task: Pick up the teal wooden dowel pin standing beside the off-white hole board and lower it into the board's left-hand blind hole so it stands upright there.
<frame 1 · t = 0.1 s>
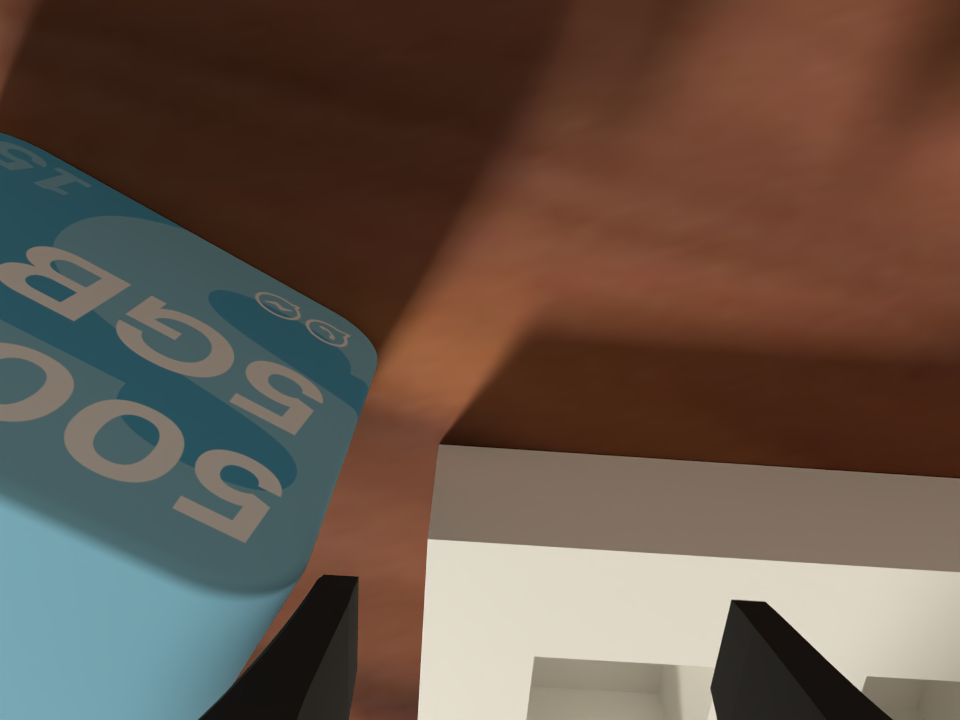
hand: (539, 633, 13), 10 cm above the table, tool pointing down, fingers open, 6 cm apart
data package: (171, 297, 22), on the table, touching gripper
hole board: (720, 618, 26), on the table
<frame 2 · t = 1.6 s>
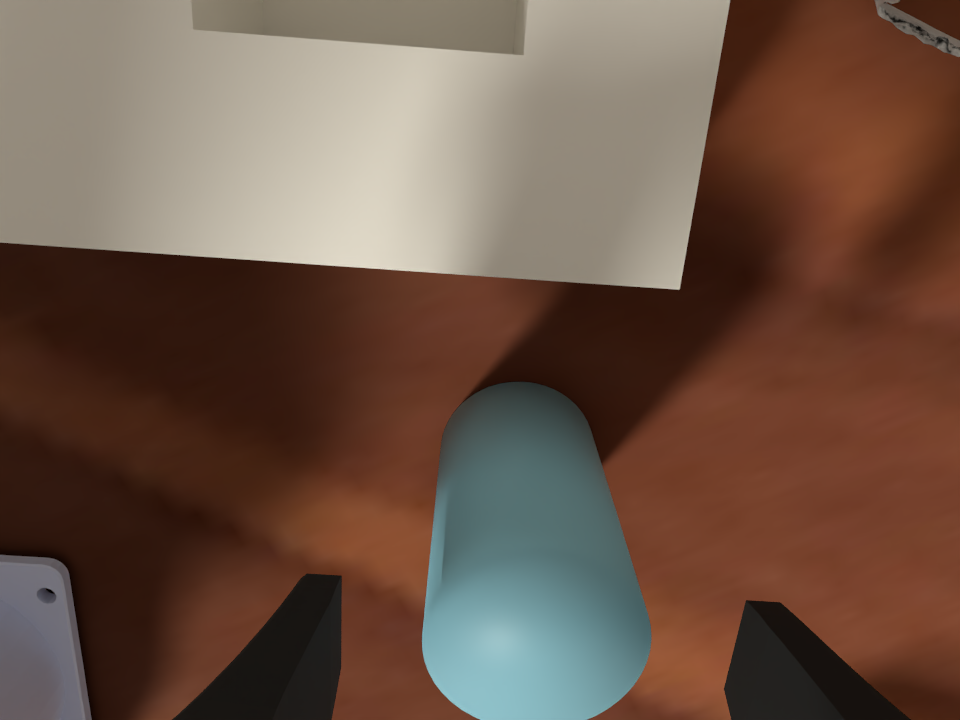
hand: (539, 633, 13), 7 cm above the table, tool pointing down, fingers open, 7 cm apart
pin: (517, 451, 20), on the table
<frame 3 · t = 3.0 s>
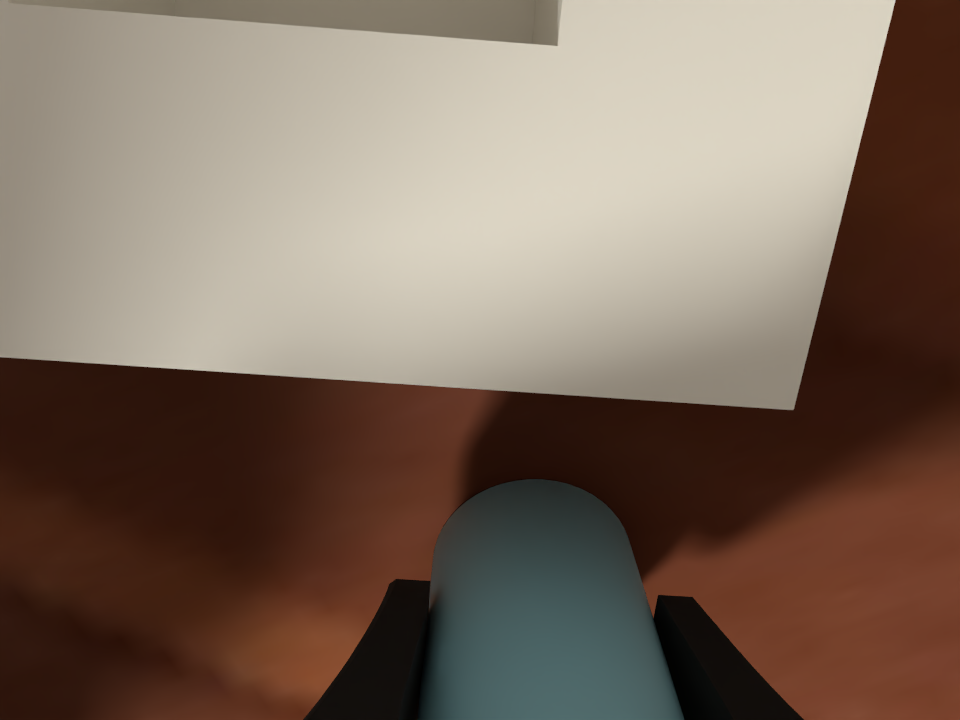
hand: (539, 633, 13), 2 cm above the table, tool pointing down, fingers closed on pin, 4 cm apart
pin: (532, 565, 15), on the table, touching gripper
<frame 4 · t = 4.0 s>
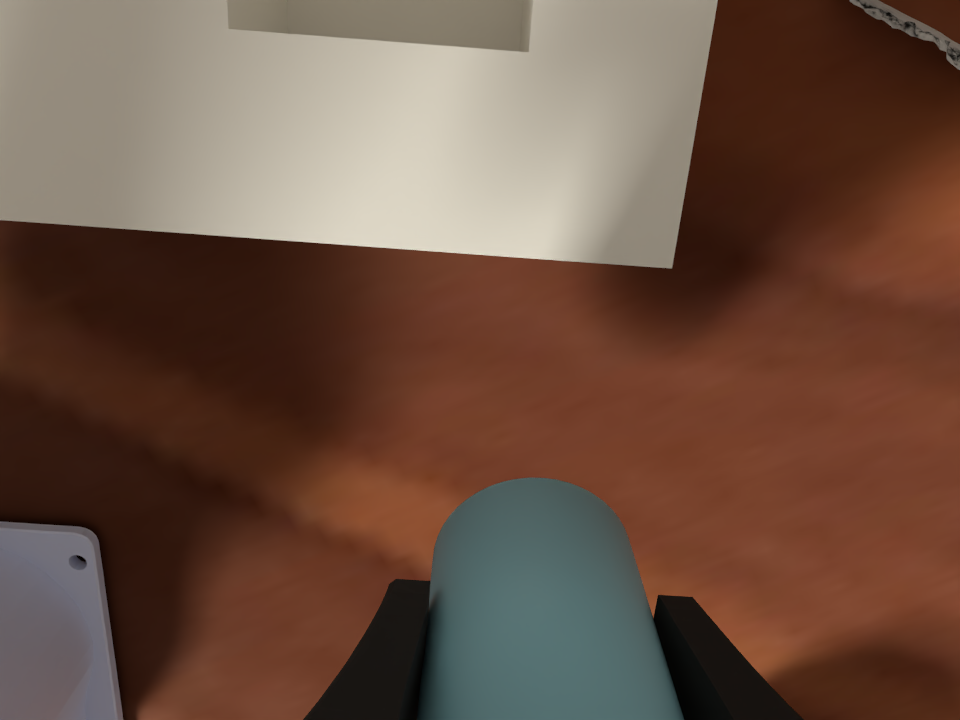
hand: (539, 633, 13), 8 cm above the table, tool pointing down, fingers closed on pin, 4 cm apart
pin: (532, 564, 15), point 6 cm above the table, touching gripper
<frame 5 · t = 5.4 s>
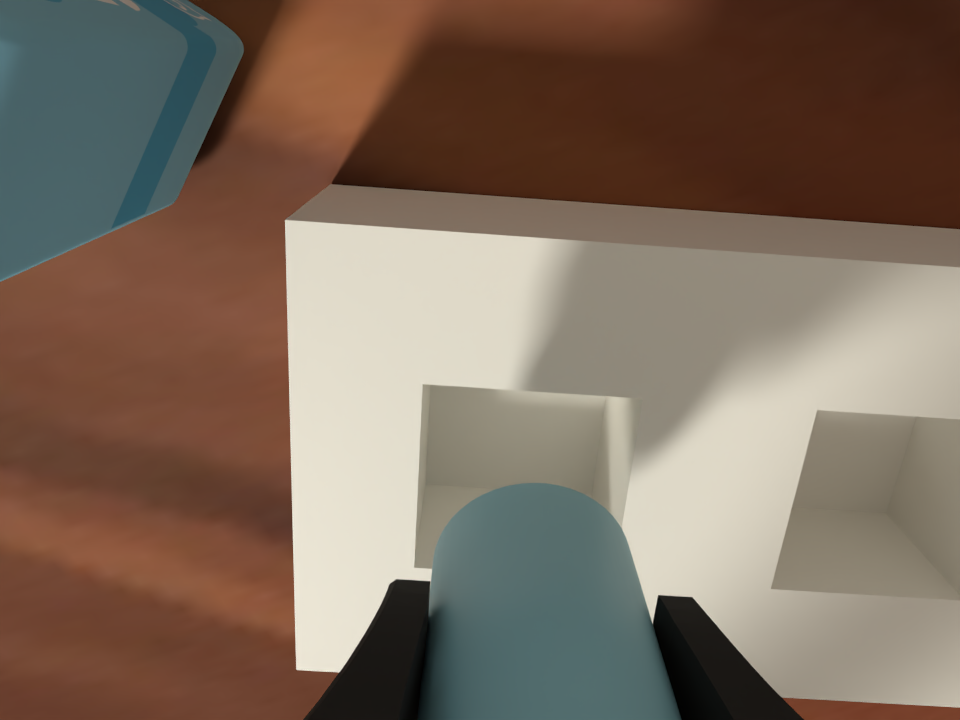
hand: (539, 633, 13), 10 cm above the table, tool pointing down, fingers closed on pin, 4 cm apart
pin: (531, 568, 15), point 8 cm above the table, touching gripper
hole board: (663, 409, 23), on the table
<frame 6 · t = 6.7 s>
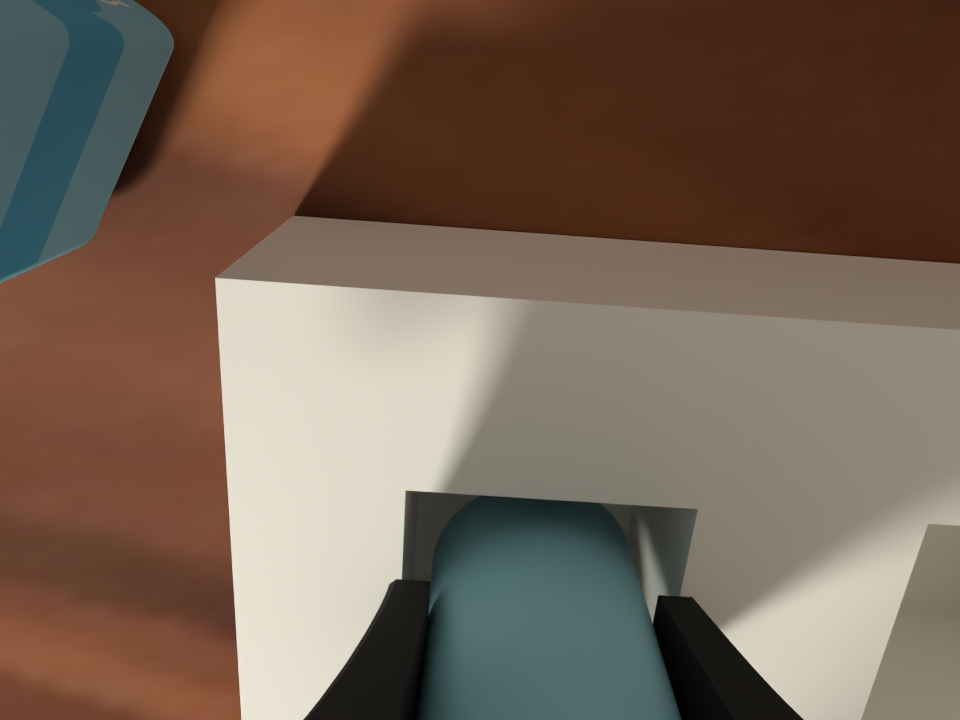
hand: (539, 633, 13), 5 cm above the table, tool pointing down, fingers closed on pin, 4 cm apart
pin: (531, 568, 15), point 3 cm above the table, touching gripper
hole board: (706, 488, 18), on the table
when the fingers open (5 cm above the table, at t = 7.6 s): pin drops 2 cm, resting on hole board.
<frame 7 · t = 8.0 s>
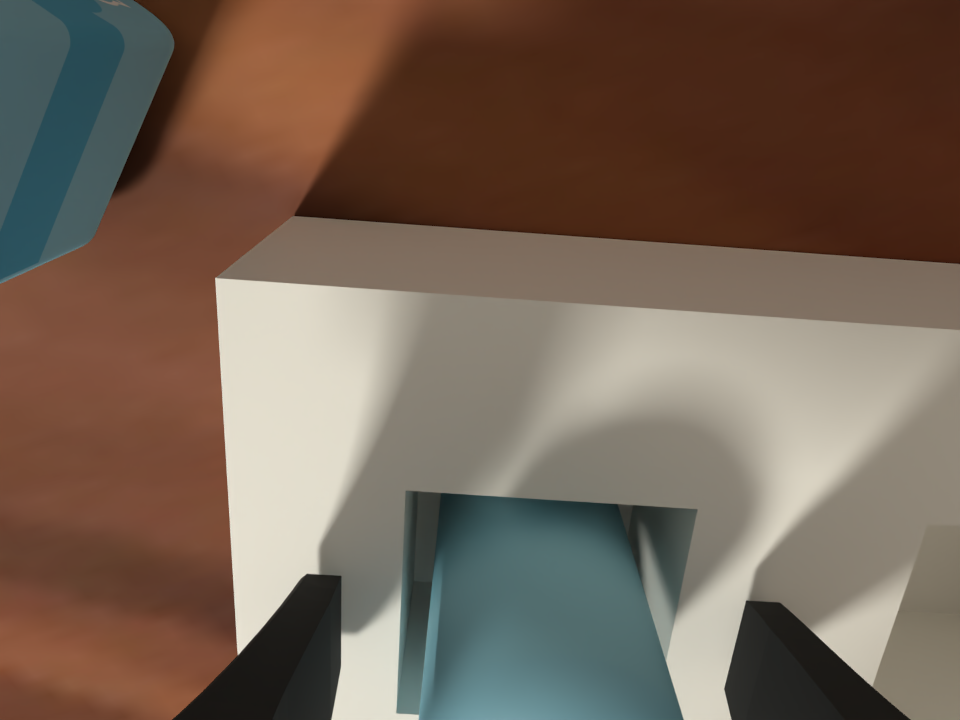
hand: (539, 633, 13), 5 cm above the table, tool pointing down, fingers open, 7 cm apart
pin: (526, 502, 17), point 1 cm above the table, touching hole board
hole board: (705, 489, 18), on the table
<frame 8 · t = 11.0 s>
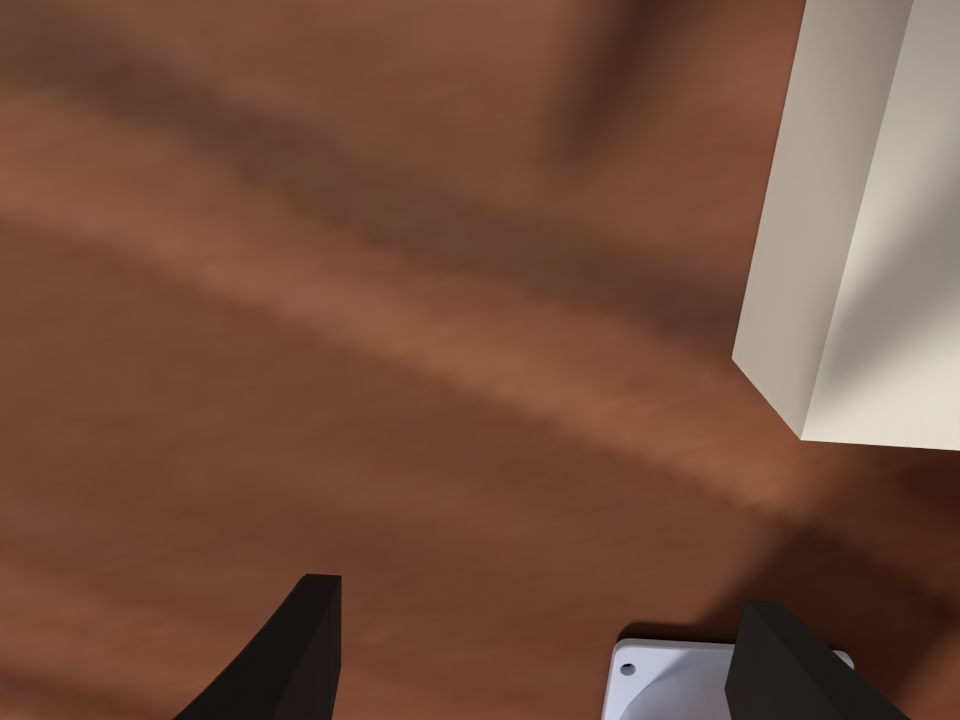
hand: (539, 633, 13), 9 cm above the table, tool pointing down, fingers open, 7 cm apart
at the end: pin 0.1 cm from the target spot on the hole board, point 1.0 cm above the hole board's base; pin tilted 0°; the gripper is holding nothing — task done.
